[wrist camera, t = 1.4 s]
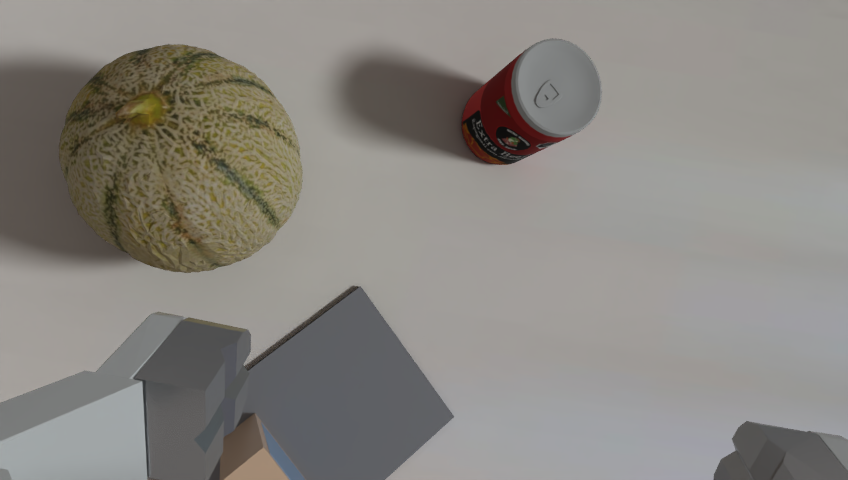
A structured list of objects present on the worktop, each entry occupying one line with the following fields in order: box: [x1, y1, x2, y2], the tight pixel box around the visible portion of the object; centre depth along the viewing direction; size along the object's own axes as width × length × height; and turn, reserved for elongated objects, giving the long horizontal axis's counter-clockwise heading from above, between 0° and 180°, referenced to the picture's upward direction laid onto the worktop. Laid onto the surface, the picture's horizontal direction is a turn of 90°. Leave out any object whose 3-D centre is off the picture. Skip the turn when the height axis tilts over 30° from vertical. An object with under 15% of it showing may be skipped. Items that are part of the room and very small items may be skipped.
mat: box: [209, 286, 454, 480], centre depth 45 cm, size 20×14×1 cm
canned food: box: [462, 39, 602, 165], centre depth 49 cm, size 8×8×11 cm
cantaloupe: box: [59, 44, 303, 273], centre depth 38 cm, size 15×15×15 cm
